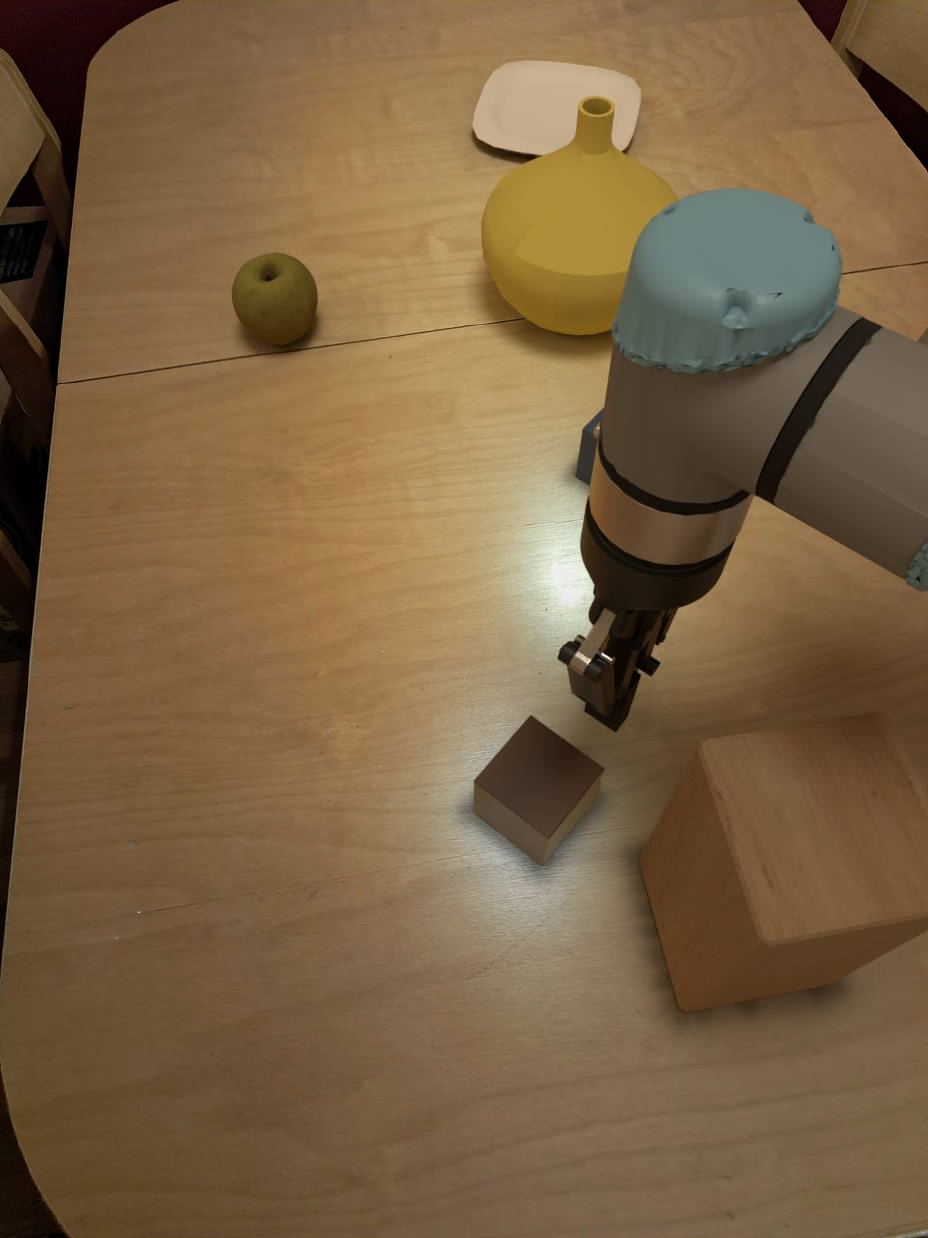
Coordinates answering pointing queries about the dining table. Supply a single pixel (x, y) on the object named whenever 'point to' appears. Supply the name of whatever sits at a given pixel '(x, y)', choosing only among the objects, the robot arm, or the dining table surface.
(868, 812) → the wooden block
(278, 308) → the apple
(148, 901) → the dining table surface
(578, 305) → the vase
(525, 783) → the walnut block
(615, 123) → the plate
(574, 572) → the dining table surface
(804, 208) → the robot arm
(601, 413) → the slate block
